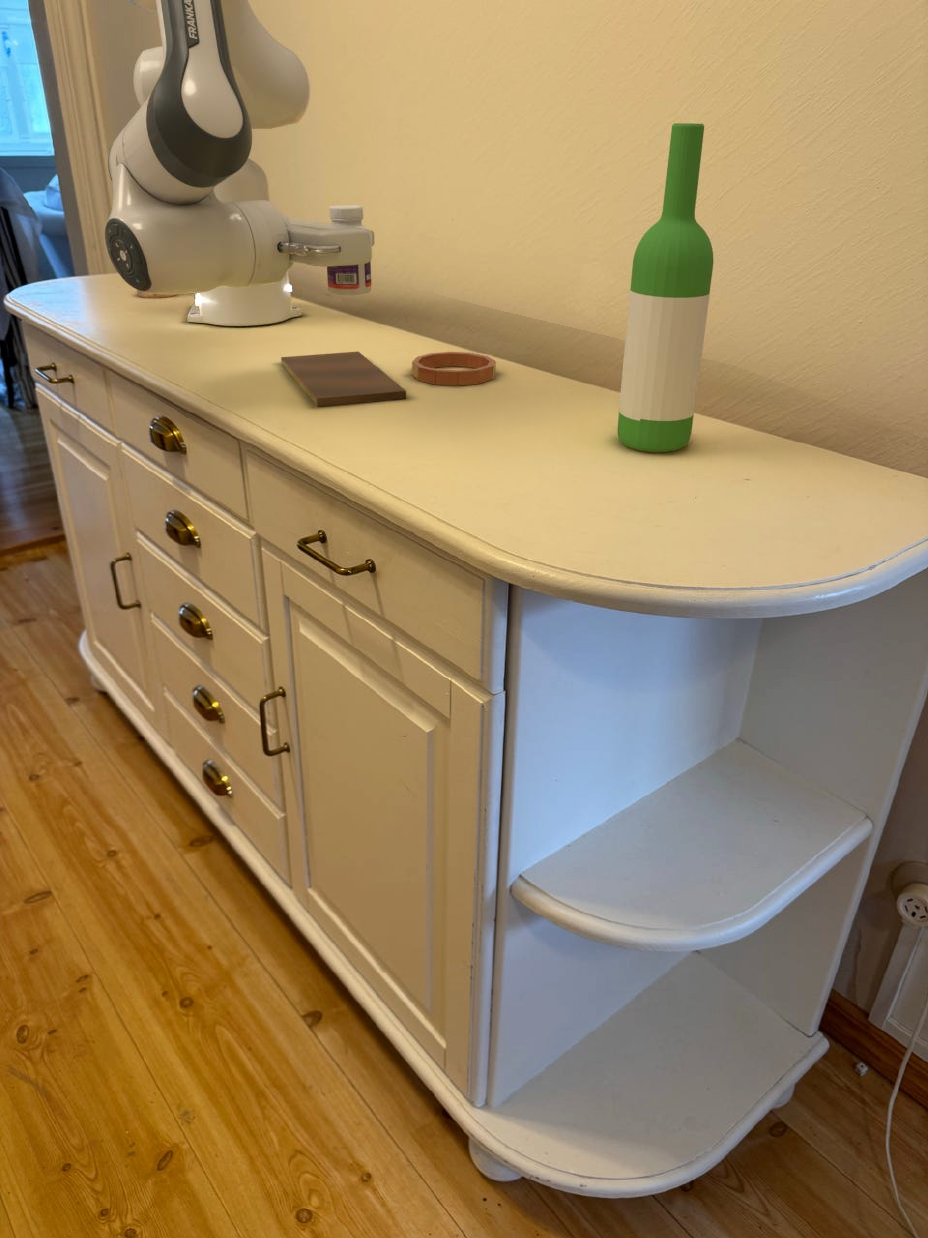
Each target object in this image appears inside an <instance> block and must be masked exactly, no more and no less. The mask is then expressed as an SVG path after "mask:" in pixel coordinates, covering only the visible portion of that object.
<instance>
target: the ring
mask: <svg viewBox="0 0 928 1238" xmlns="http://www.w3.org/2000/svg"><path fill="white" fill-rule="evenodd" d="M496 366H497V361H496V360H495V359H493V358H492V357H490V356H488V355H484V354H481V353H474V352H465V351H464V352H463V351H462V352H461V351H445V352H444V351H443V352H441V351H440V352H430V353H426V354H423V355H422V354H421V355H418V356H416V357H415V358H414V359H413V360H412V362H411V376H412V377H413V378H414V379H416V380H417V381H419V382H421V383H427V384H431V385H437V386H451V387H452V386H453V387H456V386H458V387H461V386H471V385H480V384H483V383H487V382H491V381H492V380H494V378H495V377H496V373H497V371H496V369H497V367H496ZM445 367H446V368H447V367H461V368H467V369H441V368H445ZM439 368H440V369H439ZM469 368H470V369H469Z"/></svg>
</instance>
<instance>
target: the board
mask: <svg viewBox="0 0 928 1238" xmlns="http://www.w3.org/2000/svg"><path fill="white" fill-rule="evenodd" d="M280 362H281V366H282V367H283V368H284V369H285V370H286V371H287V373H288V374H289V375H290V376H291V377H292V378H293V380H294V381H295V382H296V383H297V385H298V386H299V387H300V388H301V389H302V390H303V392H305V394H306V395H307V396H308V397H309V399H310V400H311V401H312V402H313V403H314V404H315V405H316V407H317V408H319V407H330V406H340V405H341V406H342V405H352V404H362V403H363V404H364V403H372V402H373V403H374V402H375V403H376V402H384V401H386V402H387V401H394V400H395V401H396V400H405V399H407V390H406V389H405V388H403V387H402V386H401V385H399V384H398V383H397V382H396V381H395V380H394V379H392V378H391V377H390V376H389V375H388V374H386V373H385V372H384V371H383V370H382V369H380V368H379V367H378V366H377V365H375V364H374V363H373V362H372V361H371V360H370V359H369V358H367V357H366V356H365V355H364V354H362V353H361V352H360V351H345V352H334V353H320V354H305V355H293V356H281V357H280Z"/></svg>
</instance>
